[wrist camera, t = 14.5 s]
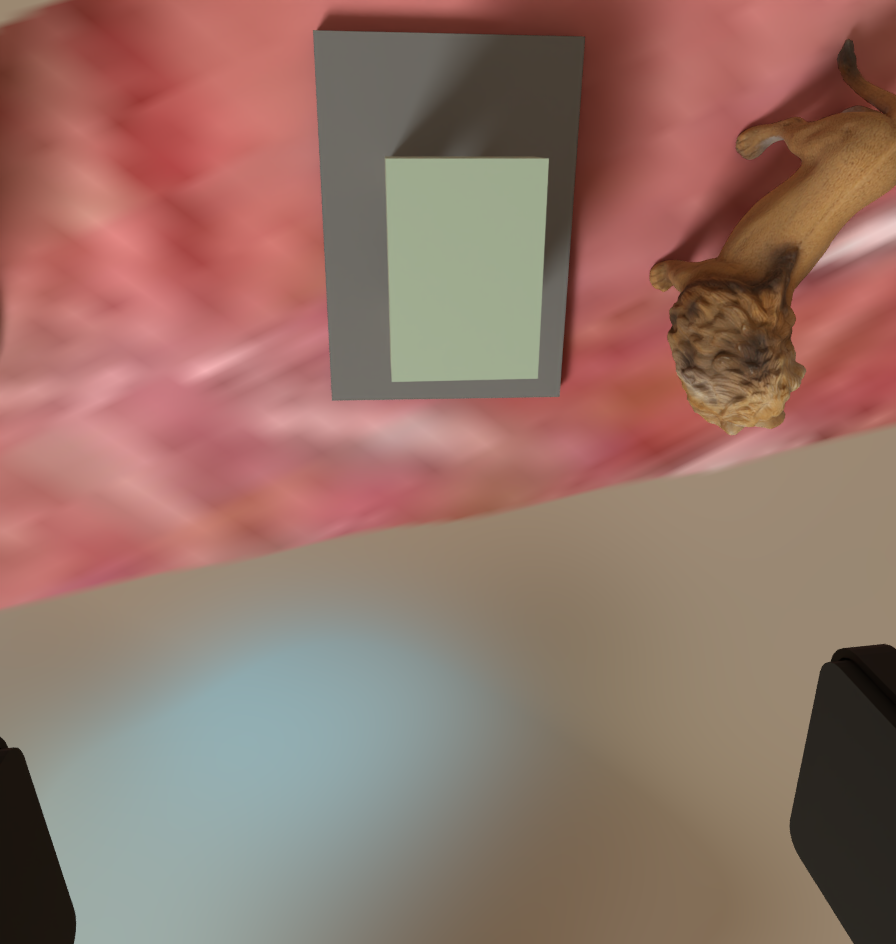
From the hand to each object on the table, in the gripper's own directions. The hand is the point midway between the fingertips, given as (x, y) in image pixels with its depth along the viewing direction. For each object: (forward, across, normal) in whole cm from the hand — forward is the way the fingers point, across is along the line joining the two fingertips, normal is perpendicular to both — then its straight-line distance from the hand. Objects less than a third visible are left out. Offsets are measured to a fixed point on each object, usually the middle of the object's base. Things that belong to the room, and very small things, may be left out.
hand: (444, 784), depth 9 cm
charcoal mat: (+26, -3, -3) cm, 27 cm away
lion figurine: (+26, -16, -3) cm, 30 cm away
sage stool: (+25, -3, -3) cm, 26 cm away
